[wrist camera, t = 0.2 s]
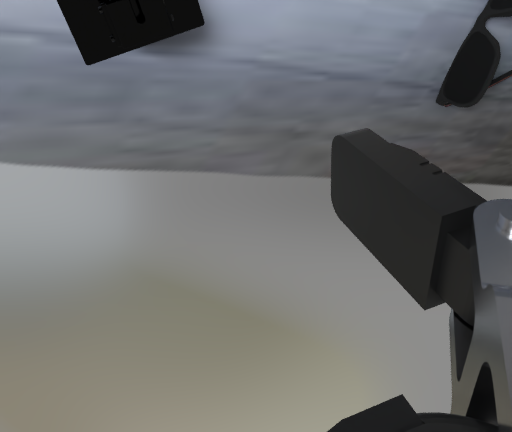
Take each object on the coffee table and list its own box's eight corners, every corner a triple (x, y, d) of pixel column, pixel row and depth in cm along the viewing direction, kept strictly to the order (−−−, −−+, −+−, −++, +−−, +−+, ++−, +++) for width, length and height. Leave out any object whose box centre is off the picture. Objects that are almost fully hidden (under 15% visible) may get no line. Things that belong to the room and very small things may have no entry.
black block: (195, -74, 34) (213, -71, 30) (222, 29, 38) (241, 43, 34) (21, -18, 32) (19, -8, 28) (72, 83, 36) (75, 104, 33)
